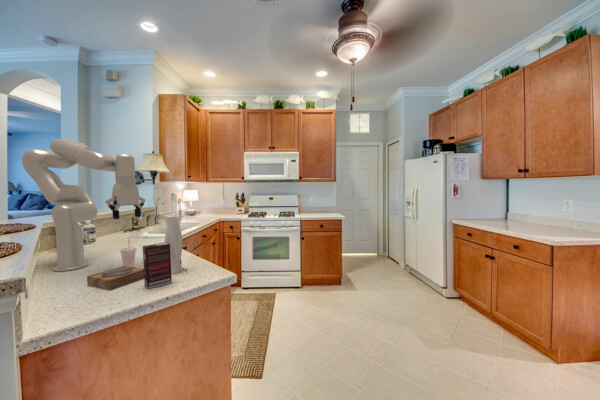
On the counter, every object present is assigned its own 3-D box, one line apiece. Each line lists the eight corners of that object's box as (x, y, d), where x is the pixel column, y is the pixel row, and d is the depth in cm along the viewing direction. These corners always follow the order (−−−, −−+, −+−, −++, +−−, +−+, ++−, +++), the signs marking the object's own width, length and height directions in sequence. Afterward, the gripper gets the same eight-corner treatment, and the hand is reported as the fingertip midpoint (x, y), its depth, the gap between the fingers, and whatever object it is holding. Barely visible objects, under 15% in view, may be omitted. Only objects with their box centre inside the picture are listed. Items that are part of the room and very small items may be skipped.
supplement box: (168, 280, 98) (166, 241, 98) (172, 283, 95) (170, 243, 94) (143, 286, 92) (142, 245, 92) (146, 289, 89) (145, 247, 88)
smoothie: (140, 267, 116) (139, 238, 116) (129, 271, 110) (128, 241, 109) (128, 266, 117) (127, 238, 116) (117, 271, 110) (115, 241, 110)
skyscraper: (188, 271, 109) (186, 210, 108) (169, 276, 103) (167, 211, 102) (180, 268, 115) (178, 209, 114) (162, 272, 109) (160, 211, 108)
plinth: (87, 285, 94) (87, 275, 94) (124, 273, 107) (124, 264, 107) (110, 290, 89) (109, 279, 88) (146, 277, 102) (146, 268, 101)
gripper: (138, 182, 121) (140, 215, 122) (99, 181, 105) (101, 219, 106) (149, 181, 118) (150, 216, 119) (110, 180, 102) (112, 220, 103)
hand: (127, 217), depth 112 cm, fingers open, 9 cm apart
